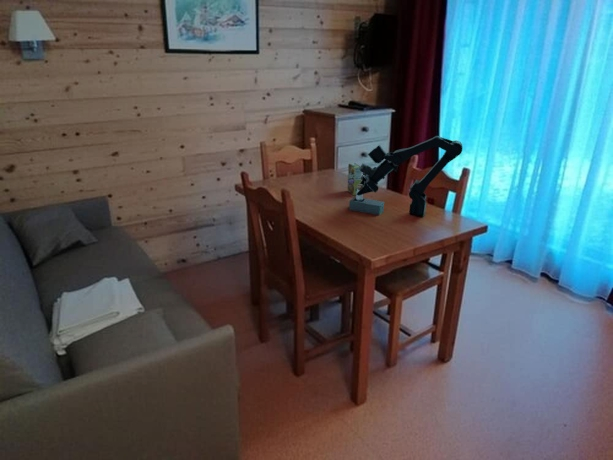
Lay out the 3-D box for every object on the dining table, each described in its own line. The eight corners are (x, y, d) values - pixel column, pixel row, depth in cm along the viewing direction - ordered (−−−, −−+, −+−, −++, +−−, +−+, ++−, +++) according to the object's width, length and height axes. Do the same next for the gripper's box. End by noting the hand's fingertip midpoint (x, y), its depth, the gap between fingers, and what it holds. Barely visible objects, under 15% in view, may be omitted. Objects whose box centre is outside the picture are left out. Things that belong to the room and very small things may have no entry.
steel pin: (362, 208, 220) (364, 184, 215) (360, 210, 217) (362, 186, 213) (356, 207, 221) (358, 183, 216) (354, 209, 218) (356, 185, 214)
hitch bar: (383, 210, 217) (384, 201, 216) (379, 215, 212) (380, 206, 210) (354, 205, 223) (354, 196, 222) (348, 209, 217) (349, 200, 216)
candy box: (346, 190, 246) (348, 163, 240) (353, 190, 247) (355, 162, 241) (352, 195, 238) (354, 167, 232) (360, 195, 239) (362, 166, 234)
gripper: (368, 154, 218) (344, 175, 222) (373, 163, 201) (346, 186, 205) (383, 170, 221) (359, 191, 225) (389, 181, 204) (362, 203, 208)
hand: (356, 192), depth 216 cm, fingers open, 6 cm apart
